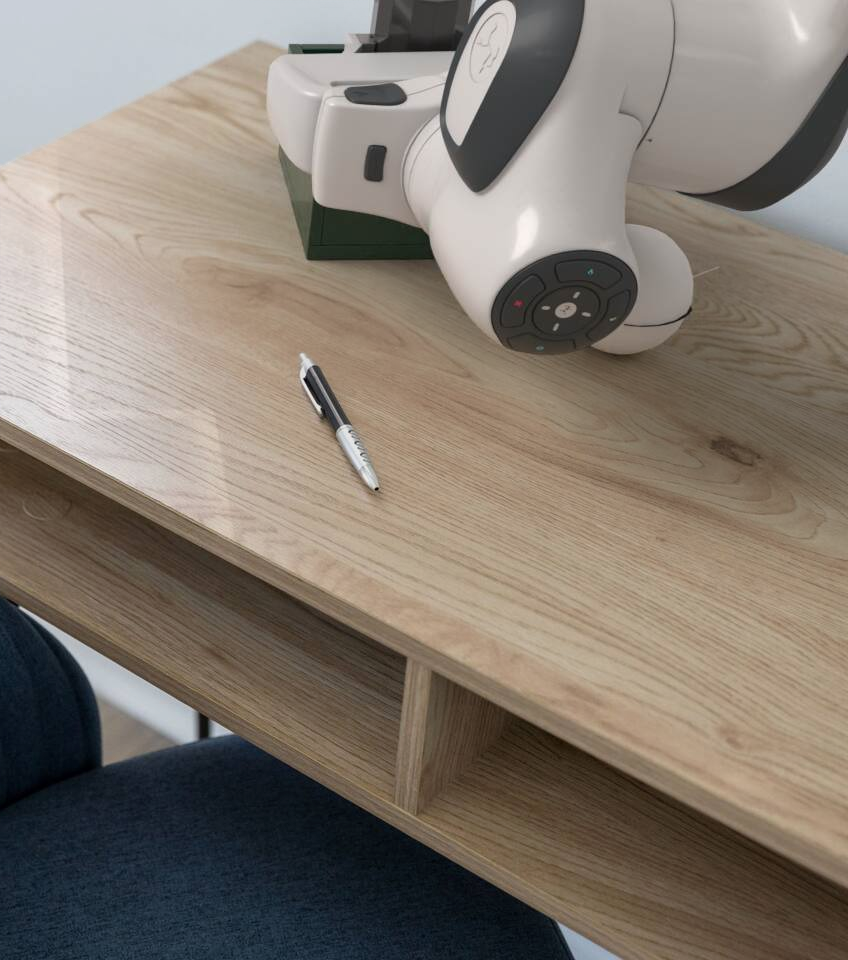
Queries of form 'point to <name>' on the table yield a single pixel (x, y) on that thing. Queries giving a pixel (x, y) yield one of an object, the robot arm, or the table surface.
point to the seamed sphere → (654, 293)
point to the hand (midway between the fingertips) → (412, 43)
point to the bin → (345, 213)
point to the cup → (419, 24)
